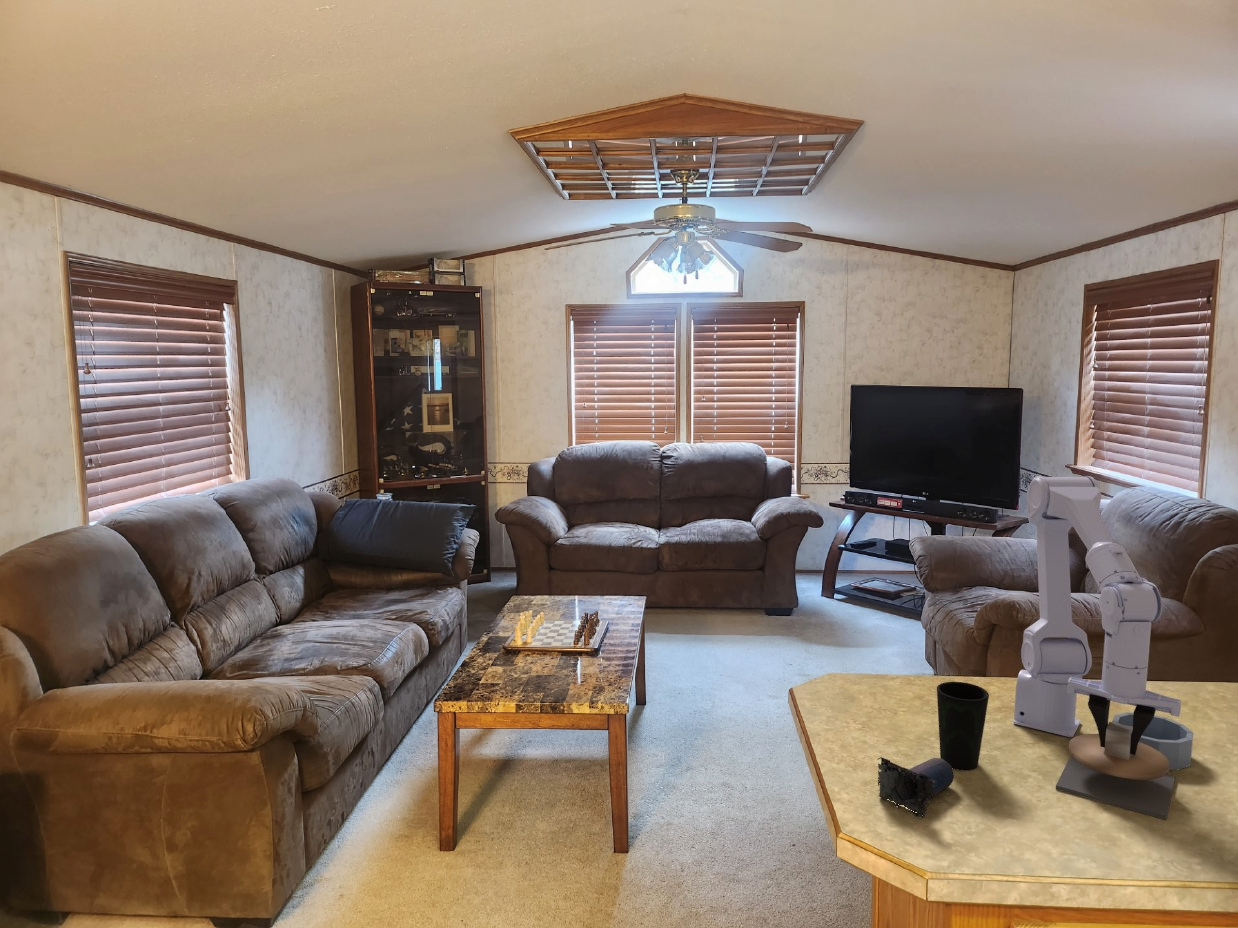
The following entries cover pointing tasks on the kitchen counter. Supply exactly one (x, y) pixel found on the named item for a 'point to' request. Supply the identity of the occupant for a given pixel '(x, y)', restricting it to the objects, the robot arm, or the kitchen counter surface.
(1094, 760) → the lid
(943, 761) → the dark blue flanged cylinder
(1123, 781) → the mat
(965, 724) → the cup
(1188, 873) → the kitchen counter surface
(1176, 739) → the bowl
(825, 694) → the kitchen counter surface
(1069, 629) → the robot arm
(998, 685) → the kitchen counter surface
